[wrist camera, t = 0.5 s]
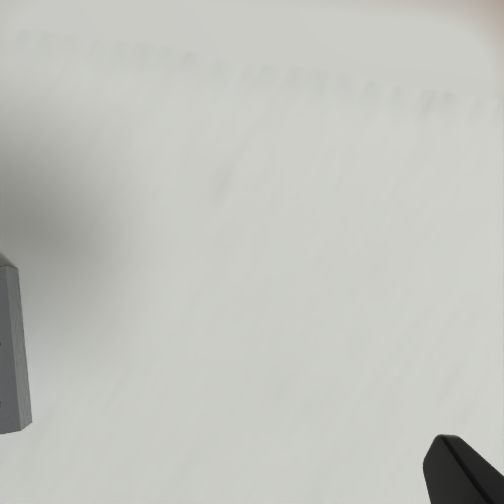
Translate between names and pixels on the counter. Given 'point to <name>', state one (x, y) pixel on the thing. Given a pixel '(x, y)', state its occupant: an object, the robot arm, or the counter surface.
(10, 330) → the grey divided tray
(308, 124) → the counter surface
